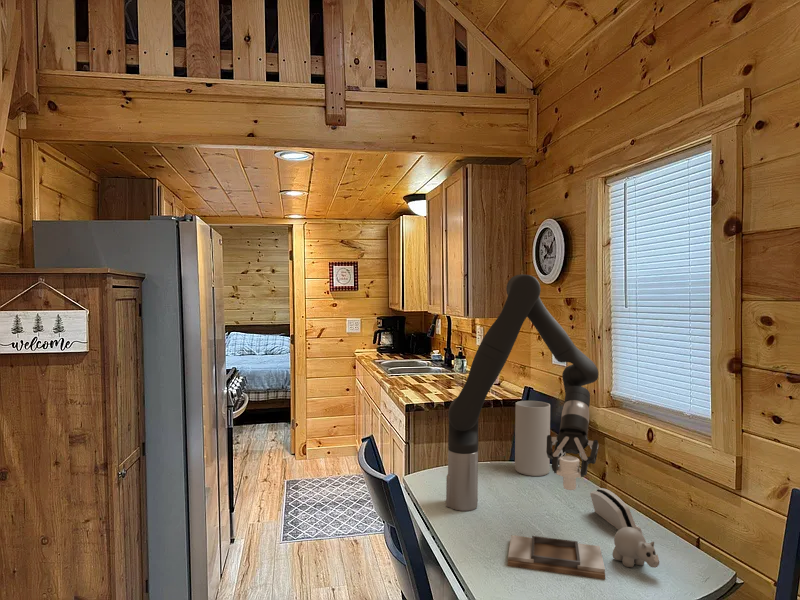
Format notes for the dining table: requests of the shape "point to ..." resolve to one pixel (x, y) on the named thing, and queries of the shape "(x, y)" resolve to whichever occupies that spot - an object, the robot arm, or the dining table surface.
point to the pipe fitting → (569, 471)
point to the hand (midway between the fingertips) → (568, 473)
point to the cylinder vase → (532, 438)
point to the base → (556, 556)
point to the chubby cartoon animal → (634, 548)
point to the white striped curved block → (612, 509)
